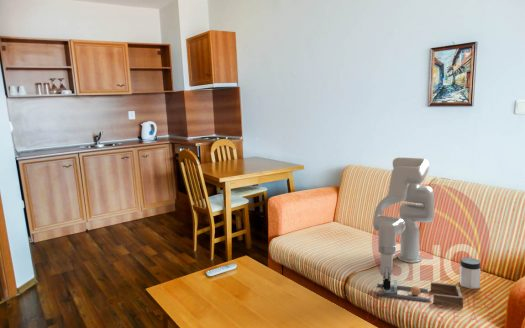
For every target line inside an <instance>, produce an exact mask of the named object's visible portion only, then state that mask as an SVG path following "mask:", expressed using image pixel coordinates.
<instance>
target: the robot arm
mask: <svg viewBox="0 0 525 328" xmlns="http://www.w3.org/2000/svg"><path fill="white" fill-rule="evenodd" d="M392 168H393V169H392V170H391V175H390V180H389V185H388V192H387V195H385V197H383V198H382V199H381V200H380V201H379V202H378V203H377V205H376V208H375V209H374V210H375V211H374V215H373V221H372V226H373V229H374V230H375V231H377V232H378V238H377V239H378V243H377V244H378V247H377V248H378V249H377V251H378V252H379V254H380V255H379V256H380V258H379V259H380V262H379V263H380V264H379V265H380V266H379V268H380V269H379V270H380V271H379V273H380V275H384V280H383V279H382V284H383V287H382V288H385V289H390V285H391V277H392V274H393V264H394V263H393V261H394V255H395V254H396V252H397V236H398V235H400V252H399V253H398V254H397V259H398V260H399V261H401V262H405V263H409V264H411V263H412V264H413V263H415V264H416V263H420V262H422V260H423V258H422V255H420V227H419V225H418V223H417V222H419V223H426V224H427V223H428V224H429V223H432V222H433V221H434V218H435V194H434V190H433V188H432V187H431V186H427V185H421V184H422V183H423V182H424V180H425V178H426V176H428V175H427V174H428V173H429V169H430V163H429V161H428V160H427V159H425V158H420V157H395V158H393V160H392ZM402 202H403V203H402ZM398 203H402V204H401V205H399V208H398V210H399V211H398V213H399V217H395V216H388V215H387V216H386V215H383V213H384V211H385V210H386V208H388V207H390V206H392V205H395V204H398ZM388 273H389V274H388ZM388 276H389V277H388Z"/></svg>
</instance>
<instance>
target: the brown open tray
mask: <svg viewBox="0 0 525 328" xmlns="http://www.w3.org/2000/svg"><path fill="white" fill-rule="evenodd" d="M430 292H431V293H433V292H434V293H433V299H432V300H433V302H432V303H433V305H442V306H450V307H457V306H462V307H461V308H463V306H464V296H463V294H462V291H461V289H460V286H459V285H458V284H454V283H452V284H451V283H442V282H441V283H440V282H432V281H431V282H430ZM439 293H440V294H439ZM448 294H450V295H448ZM451 294H452V295H451Z"/></svg>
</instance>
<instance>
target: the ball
mask: <svg viewBox="0 0 525 328" xmlns="http://www.w3.org/2000/svg"><path fill="white" fill-rule="evenodd" d="M411 287H412V288H411V290H410V293H411V294H412V295H413V296H419V295H420V293H421V291H420V289H419V288H420V287H418V286H417V285H413V286H411Z"/></svg>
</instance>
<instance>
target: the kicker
mask: <svg viewBox="0 0 525 328" xmlns="http://www.w3.org/2000/svg"><path fill="white" fill-rule="evenodd" d="M388 274H389V273H388ZM382 275H383V274H382ZM388 277H389V276H388ZM383 280H384V275H383V278H382V281H383ZM397 282H398V281H397V280H396V279H393V284H390V289H385V288H383V287H382V288H383V293H389V294H398V289H397V286H398V283H397ZM392 285H394V286H392Z"/></svg>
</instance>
